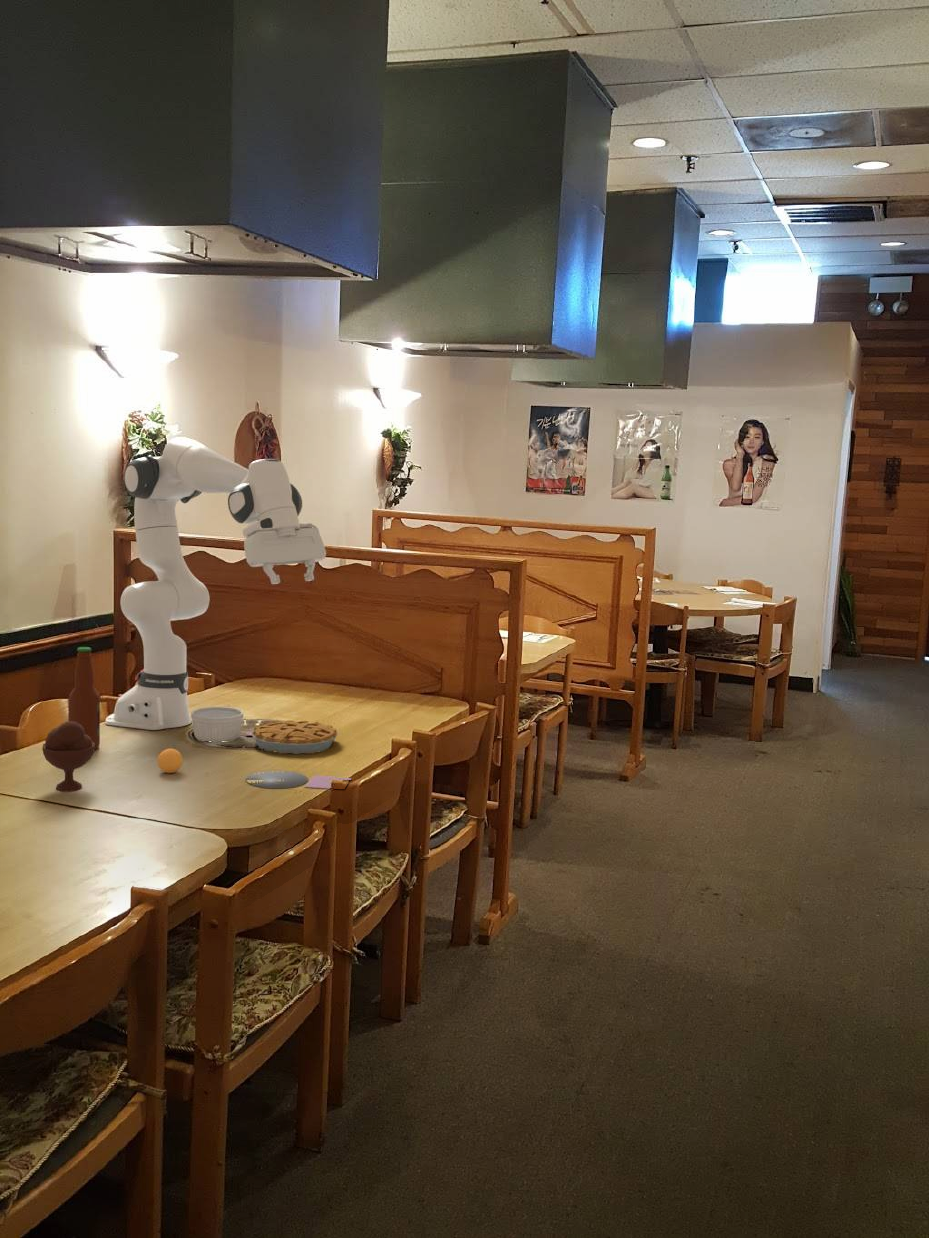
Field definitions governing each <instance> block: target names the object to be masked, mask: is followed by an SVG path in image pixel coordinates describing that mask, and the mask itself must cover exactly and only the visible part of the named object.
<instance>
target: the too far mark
mask: <svg viewBox="0 0 929 1238" xmlns="http://www.w3.org/2000/svg"><path fill="white" fill-rule="evenodd" d="M332 780H352V778H351V777H337V776H321V775H312V777H311V778H310V779H309V780H308V781H307V782H306V785H304V786H305V787H304V788H307V789H321V790H331V789H330V788H331V781H332Z"/></svg>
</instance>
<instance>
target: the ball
mask: <svg viewBox="0 0 929 1238" xmlns="http://www.w3.org/2000/svg"><path fill="white" fill-rule="evenodd" d="M183 761H184V760H183V756H182V753H181V752H180V751H179V750H177V749H176V748H175V749H174V748H167V749H164V750H162V751H161V752H160V753H159V755H158V757H157V765H158V768H159V769H160V770H161V771H162V772H164V773H167V774H172V773H176V772H178V771H179V770H180V769H181V767H182V765H183Z"/></svg>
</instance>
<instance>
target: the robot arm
mask: <svg viewBox="0 0 929 1238" xmlns="http://www.w3.org/2000/svg"><path fill="white" fill-rule="evenodd" d="M290 481H291V480H290V478H289V476H288V472H287V470H286V467H285V465H284V463H283V462H282V461H281V460H279V459H277V458H263V459H257V460H256V459H255V460H254V461H252V462H251V463H249V466H248V467H245V466H243V465H242V464H239V463H237V462H235V461H233V460H231V459H229V458H227V457H225V456H223V455H221V454H220V453H218V452H216V451H214V450H212V449H211V448H209V447H207V446H206V445H204V444H203V443H201V442H198V441H197V440H195V439H191V438H187V437H175V438H172V439H171V440H169V441H168V443H167V444H166V445H165V447H164V449H163V452H162V454H161V456H152V455H151V454H149V455H147V456H144V457H140V458H139V457H138V458H137V459H132V460H131V461H130V462H129V463H128V465H127V466H125V469H124V474H123V483H124V487H125V489H126V490H127V492H128V494H129V495H130V496H131V497H134V507H133V508H134V511H133V512H134V514H133V515H134V516H133V518H134V531H135V541H136V547H137V554H138V558H139V560H140V562H141V563H142V564H143V565H145V567H148V568H149V569H151V570H152V571H153V572H154V573H155V576H156V578H157V579H158V580H150V581H141V582H137V583H134V584H131V585H128V586H127V587H125V588H124V590H123V591H122V594H121V596H120V602H119V603H120V604H119V605H120V609H121V612H122V614H123V616H124V617H125V618H126V620H128V621H130V622H131V623H132V624H133V625H134V626H135V627H136V629H137V630H138V633H139V634H140V637H141V640H142V646H143V665H144V666H143V669H141V670H140V672H138V673H137V675H135V676H134V677H135V681H136V682H137V684H136V685H134V686H133V687H132V688H130V689H129V690H127V691H126V692H124V693H123V694H122V695H120V696H119V698H118V699H117V700H116V702H115V707H114V711H113V713H111V714H109V715H108V716H107V717H106V718H105V722H104V723H105V725H107V726H108V725H109V726H116V727H124V728H125V727H126V728H132V729H133V728H134V729H141V730H150V731H157V730H164V729H172V728H179V727H185V726H188V725H190V724H191V723H193V721H192V718H191V714H190V710H189V709H190V708H189V704H188V693H187V692H188V689H189V673H188V672H189V671H187V643H186V641H185V640H184V639H182V638H181V637H180V636H179V635H177V634H174V631H173V630H172V624H171V623H172V622H171V621H179V620H190V619H192V618H195V617H199V616H201V615H203V614H204V613H206V612H207V610H208V608H209V606H210V605H209V604H210V599H211V598H210V593H209V590H208V588H207V586H206V585H205V584H204V583H203V582H201V581H200V580H199V579H198V578H196V576H195V575H194V574H193V573H192V572H191V570H190V569H189V567H188V565H187V563H186V561H185V559H184V556H183V551H182V547H181V542H180V535H179V529H178V521H177V516H176V506H177V504H178V503H179V501H181V503H183V504H187V503H189V502H190V501H191V500H192V499H194V498H196V497H198V496H200V495H201V494H202V493H204V494H228V499H227V505H228V510H229V513H230V515H231V517H232V518H233V519H234V520H235V521H236V522H237V523H239V524H244V525H247V526H246V527H244V528H243V529H242V535H243V536H244V538H245V539H244V542H243V548H244V554H245V558H246V559H245V560H246V563H247V564H248V565H249V566H250V567H252V568H256V567H257V568H258V567H262V568H263V572H264V573H265V574H266V576H268V577H269V579H270V583H271V585H277V584H280V583H281V579H280V574H276V572H275V571H274V570H273V568H274V566H280V565H293V564H295V565H296V564H304V565H305V568H307V570H306V573H304V574H303V577H304V581H305V582H311V581H314V580H315V576H314V570H315V567H316V563H318V562H320V561H322V560H324V559H325V558H326V556H327V551H326V548H325V547H326V546H325V545H324V542H323V540H322V537H321V534H320V530H319V528H318V527H317V526H316V525H314V524H313V523H300V520H299V515H300V513H301V512H302V508H303V499H302V496H301V493H300V492H299V490H298V489H297V487H296V486H294V485H293V484H292V483H291V482H290Z"/></svg>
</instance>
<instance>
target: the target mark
mask: <svg viewBox="0 0 929 1238" xmlns="http://www.w3.org/2000/svg"><path fill="white" fill-rule="evenodd" d="M264 771H265V772H264V774H263V773H262V771H260V772H261V773H260V774H259V775H258V773H257V772H253V773H251V774H249V775H247V776H246V778H245V781H246V780H264V781H262V782H259V781H258V783H257V782H255V783H252V782H251V783H250V784H252V785H251V786H254V787H256V786H257V788H261V789H270V790H271V789H272V790H275V789H276V790H283V789H292V788H296V787H300V786H303V785H305V784H307V783H308V782H309V780H308V778H309V777H307V776H306V775H304V773H300V772H296V771H291V773H290V772H289V770H273V771H274V772H273V773H272V772H271V771H272V770H268V771H269V772H268V773H267V772H266V771H267V770H264ZM276 771H279V772H276ZM282 771H284V772H283V773H282ZM286 771H288V772H286ZM254 773H256V774H255V775H254ZM265 780H266V781H265ZM271 780H272V781H271ZM278 780H281V781H278ZM283 780H284V781H283ZM250 784H249V785H250Z"/></svg>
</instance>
